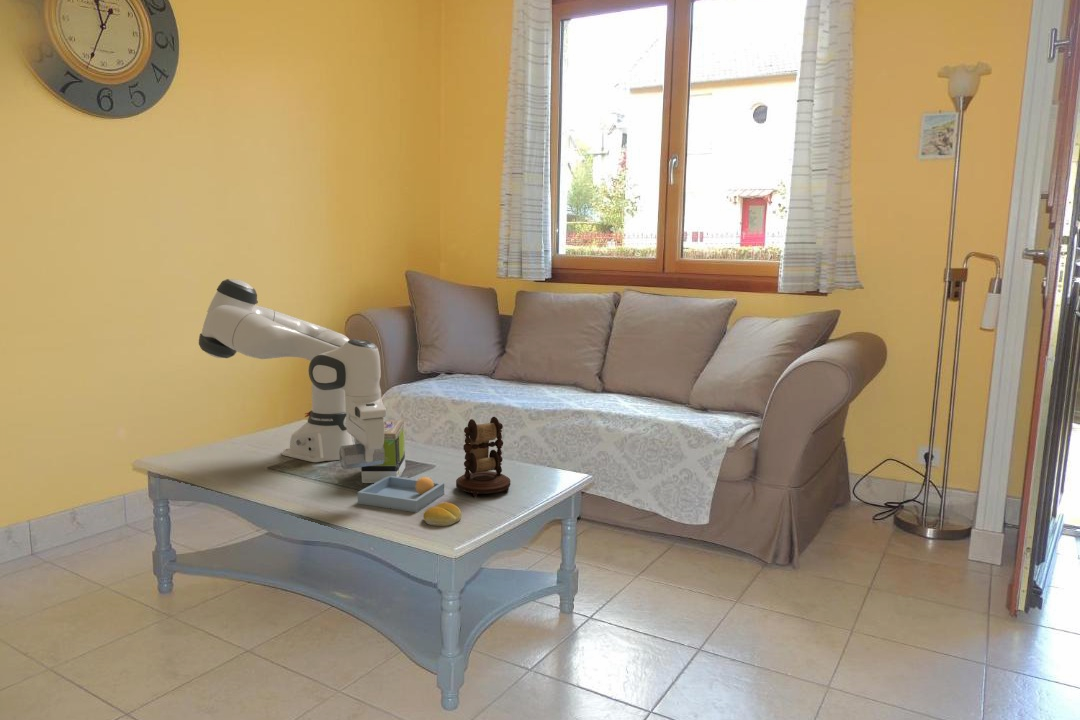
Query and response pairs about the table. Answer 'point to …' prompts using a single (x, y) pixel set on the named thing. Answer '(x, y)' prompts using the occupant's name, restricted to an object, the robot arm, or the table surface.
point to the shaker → (359, 456)
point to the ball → (424, 485)
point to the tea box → (388, 454)
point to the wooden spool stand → (483, 459)
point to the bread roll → (442, 514)
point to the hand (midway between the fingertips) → (364, 457)
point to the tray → (399, 494)
